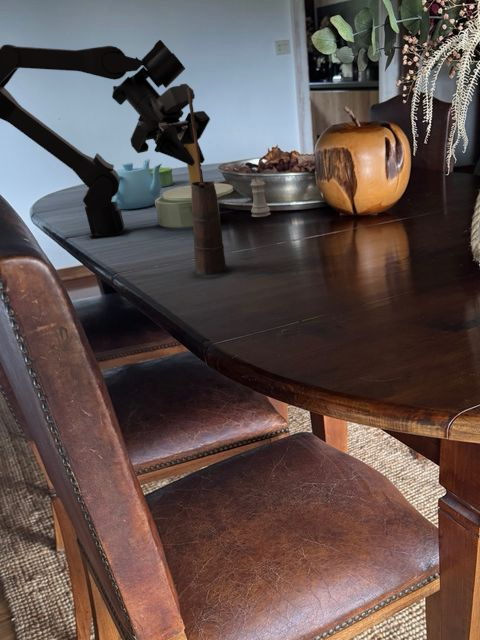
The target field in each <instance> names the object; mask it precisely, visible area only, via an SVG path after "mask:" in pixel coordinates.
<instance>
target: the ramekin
mask: <svg viewBox="0 0 480 640" xmlns="http://www.w3.org/2000/svg"><path fill="white" fill-rule="evenodd" d="M153 168H154V167H152V168H149V169H150V173H151V176H152V178H153ZM159 176H160V180H161V188H163V187H164V188H166V187H169V186H172V185H173V183H174V180H173V167H170V166H169V167H168V166H162V167H161V166H160V168H159Z"/></svg>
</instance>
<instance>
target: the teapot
mask: <svg viewBox="0 0 480 640" xmlns="http://www.w3.org/2000/svg"><path fill="white" fill-rule="evenodd" d="M150 162H151V159H150V158H147V159H145V160H144V161H143V164H142V167H134V163H133V162H125V163H122V167H123V168H122V169H117V170H115V171H116V172H117V174H118V176H119V179H120V184H119V189H118V192H117V194H116V195H115V196H113V197H112V201H111V202H116V203H117V207H118V209H121V210H133V209H140V208H141V209H142V208H147V207H150V206H153V205H155V200H156V199H157V198H159V197H161V190H162V187H161V180H160V176H159V168H160V167H161V166H162V165H163V163H160V164H157V165H154V167H152V168H153V178H152V176H151V173H150V169H151V168H150Z"/></svg>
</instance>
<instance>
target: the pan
mask: <svg viewBox="0 0 480 640" xmlns="http://www.w3.org/2000/svg"><path fill="white" fill-rule="evenodd" d="M217 202H218V209H219V215H220V216H221V211H220V205H219V197H218V198H217ZM154 206H155V210H156V216H157V220H158V225H159V226H161V227H164V228H165V227H166V228H189V227H193V220H192V217H193V214H192V202H179V201H172V200H166V199H164V198H163V195H162V196H161V195H160V197H159V198H157V199H156V200H155V204H154Z"/></svg>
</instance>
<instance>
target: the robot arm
mask: <svg viewBox="0 0 480 640" xmlns="http://www.w3.org/2000/svg"><path fill="white" fill-rule="evenodd" d="M19 69H33V70H35V69H37V70H52V71H67V72H68V71H69V72H70V71H71V72H80V73H84V74H88V75H92V76H97V77H100V78H104V79H109V80H120V79H122V78H123V77H124V76H125V75H126V74H127V73H128V72H129V73H131V72H136V73H135V74H134V75H131V76H127V77H126V78H125V79H124V80H123V81H122V82H121V83H120V84H119V85H113V86H112V89H113V90H112V95H111V97H112V99H113V100H114V101H115V103H117V104H118V105H119V106H121V105H123V104H124V103H125V102H126V101H127V103H128V104H129V105H130V106H131V107H132V108H133V110H134V111H135V112H136V113H137V115H139V116H138V118H137V123H136V126H135V128H134V130H133V132H132V135H131V137H130V139H129V140H130V146H131V148H133V149H134V151H135V152H136V153H137V154H142V153H145V152H148V151H149V148H150V147H149V144H148V143H147V141H150V140H153V141H154V144H155V145H156V146H155V148H154V152H155V153H160V154H162V155H166V156H168V157H171V158H173V159H176V160H177V161H180V162H182V163H183V164H186V165H187V164H189V165H191V166H193V165H194V163H195V161H194V159H193V158H192V156H191V155H190V153H189V152H188V151H187V149H186V148H185V147H184V144H185V143H195V141H194V134H193V128H192V121H191V114H190V112H188V113H187V115H186V118H185V119H184V120H180V119H181V118H182V117H183V115H184V113H185V112H184V111H183V109H185V108H186V107H187V106H189V99H188V90H187V89H188V88H190V89H191V97H192V103H193V102H194V99H195V98H196V97H195V96H196V95H195V91H194V89H193V88H192V87H191V86H189V85H188V83H180V84H179V85H174V86H171V87H169V86H170V85H171V84H173V82H174V81H175V80H176V79H177V78H178V77H179V76H180V75H181V74H182V73H183V72H184V71H185V70H186V67H185V66H184V65H183V63H182V62H181V61H180V59H179V58H178V57H177V56H176V54H174V52H172V51H171V50H170V49H169V48H168V47H167V45H165V43H164V42H163V41H162V40H161V39H159V40H157V41H156V42H155V44H154V46H153V47H152V48H151V49H150V51H148V52H147V53H146V55H144V56H143V57H142V58H141V59H140V58H138V57H137V56H135V57H132V56H127V55H126V53H124V51H123V50H122V49H121V48H118V47H117V46H113V45H104V46H97V47H90V48H89V47H88V48H83V49H65V48H50V47H49V48H47V47H46V48H45V47H34V46H33V47H31V46H18V45H14V44H3V45H1V46H0V120H3V121H5V122H6V123H8V124H10V125H11V126H13V127H14V128H15V129H17V130H18V131H19V132H20V133H22V134H24V135H25V136H26V137H27V138H29V139H30V140H32V141H33V142H34V143H35V144H37V145H39V146H40V147H41V148H43V149H44V150H45V151H47V152H48V153H49V154H50V155H52V156H53V157H55V158H56V159H57V160H59V161H60V162H61V163H63V164H64V165H65V166H67V167H68V168H69V169H70V170H72V171H73V173H75V174H76V176H77V177H78V178H79V179H80V180H81V182H82V183H83V184H84V185H85V186H86V187H87V188H88V189H87V190H86V192H85V195H84V197H83V198H82V202H83V203H84V205H85V206H84V210H85V211H84V212H85V215H86V218H87V222H88V226H89V231H90V234H89V238H91V239H92V238H103V237H110V236H111V237H112V236H119V235H121V234H122V233H123V231H124V229H125V223H124V217H123V214H122V213H123V212H122V209H118V207H117V203H116V202H111V201H112V197H113V196H115V195H116V194H117V192H118V189H119V184H120V179H119V176H118V174H117V172H116V171H117V170H115V169H114V168H115V165H114V164H111V163H109V162H108V161H106V160H105V159H104V158H103V157H102V155H100V154H99V153H98V152H96V154H95V155H94V157H91V156H89V155H87V154H85V153H83V152H82V151H81V150H80V149H78V148H77V147H76V146H74V145H73V144H71V143H70V142H69V141H68V140H66V139H65V138H63V137H62V136H61V135H60V134H58V133H57V132H56V131H54V130H53V129H51V128H50V127H49V126H47V125H46V124H45V123H43V121H41V120H40V119H39V118H37V116H35V115H33V114H32V113H31V112H29V111H28V110H26V109H25V108H24V107H23V106H22V105H21V104H20V103H19V102H18V101H17V100H16V99H15V98H14V96H13V94H11V93H10V92H9V91H8V90H7V89H6V88H5V87H6V86H7V85H8V83H9V82H10V81H11V79H12V78H13V76H14V75H15V73H16V72H17V71H18V70H19ZM148 78H149V79H150V81H152V83H153V84H154V85H155V86H156V87H157V88H158V89H159V88H160V87H162V86H163V87H164V88H165V89H166V90H165V91H164V92H163V93H161V94H160V93H159V92H158V91H157V90H156V89H155V88H154V86H153V85H152V84H151V83H150V82H149V80H148ZM168 87H169V88H168ZM194 118H195V126H196V132H197V140H198V141H199V140H200V139H201V137H202V136H203V134H204V132H205V130H206V128H207V127H208V124H209V123H210V121H211V118H210V116H209V115H208V114H207V113H206V112H205V111H204V110H197V111H194ZM198 148H199V154H200V162H201V164H203V163H204V162H205V157H204V154H203V151H202V149H201V147H200V144H199V143H198Z"/></svg>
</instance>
